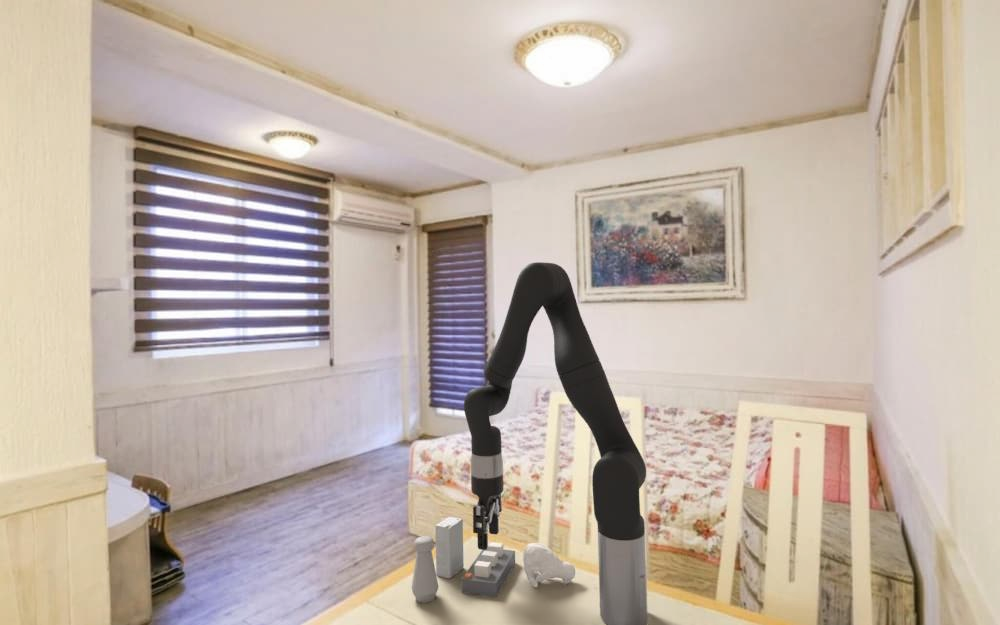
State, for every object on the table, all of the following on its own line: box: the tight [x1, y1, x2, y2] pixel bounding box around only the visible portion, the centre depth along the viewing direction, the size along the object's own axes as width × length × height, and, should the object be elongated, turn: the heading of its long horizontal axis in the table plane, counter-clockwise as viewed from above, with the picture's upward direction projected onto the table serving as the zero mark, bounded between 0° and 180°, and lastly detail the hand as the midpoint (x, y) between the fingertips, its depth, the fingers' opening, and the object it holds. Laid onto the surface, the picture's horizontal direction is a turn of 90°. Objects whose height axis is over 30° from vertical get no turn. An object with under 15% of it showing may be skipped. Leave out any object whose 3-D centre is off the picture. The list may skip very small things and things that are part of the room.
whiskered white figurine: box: [522, 542, 576, 588], centre depth 120 cm, size 6×8×12 cm
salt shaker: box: [411, 535, 439, 604], centre depth 114 cm, size 6×6×13 cm
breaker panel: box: [461, 541, 516, 598], centre depth 123 cm, size 8×16×5 cm, turn 163°
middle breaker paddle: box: [481, 551, 498, 567], centre depth 123 cm, size 3×2×2 cm
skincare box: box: [434, 516, 465, 579], centre depth 126 cm, size 6×4×12 cm
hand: (488, 540), depth 123 cm, fingers open, 8 cm apart
